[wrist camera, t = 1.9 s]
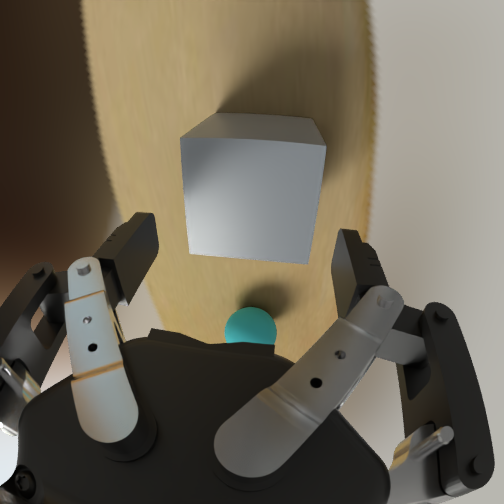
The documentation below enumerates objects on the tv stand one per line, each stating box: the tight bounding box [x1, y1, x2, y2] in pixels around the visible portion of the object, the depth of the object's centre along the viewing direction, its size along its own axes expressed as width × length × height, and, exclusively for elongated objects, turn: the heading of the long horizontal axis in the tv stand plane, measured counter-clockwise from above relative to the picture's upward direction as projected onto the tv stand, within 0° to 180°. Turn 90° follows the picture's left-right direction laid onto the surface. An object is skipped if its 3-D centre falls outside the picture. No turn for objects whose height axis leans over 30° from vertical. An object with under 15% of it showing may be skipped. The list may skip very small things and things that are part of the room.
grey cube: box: [180, 113, 327, 264], centre depth 17 cm, size 7×7×7 cm
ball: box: [225, 307, 277, 345], centre depth 28 cm, size 5×5×5 cm
